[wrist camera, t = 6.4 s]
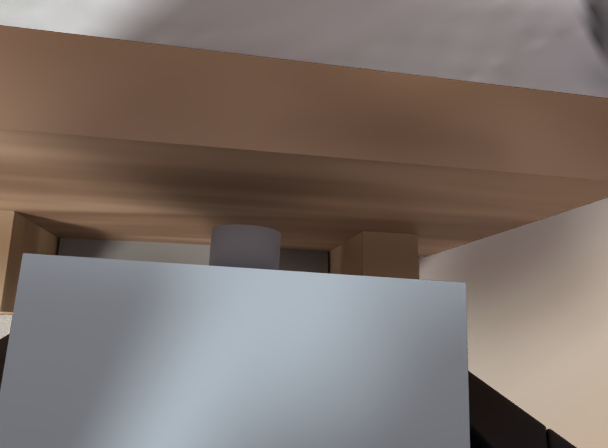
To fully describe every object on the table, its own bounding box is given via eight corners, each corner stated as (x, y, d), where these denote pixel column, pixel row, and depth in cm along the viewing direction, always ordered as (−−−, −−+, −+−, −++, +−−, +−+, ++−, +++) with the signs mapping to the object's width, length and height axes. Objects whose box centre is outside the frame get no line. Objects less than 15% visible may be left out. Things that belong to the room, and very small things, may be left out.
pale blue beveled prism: (297, 443, 15) (475, 664, 5) (127, 442, 14) (-52, 706, 4) (304, 280, 16) (464, 203, 6) (146, 270, 16) (37, 162, 5)
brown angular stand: (430, 457, 21) (704, 613, 10) (-109, 473, 17) (-727, 760, 6) (420, 153, 24) (623, -12, 12) (-45, 111, 20) (-376, -179, 9)
